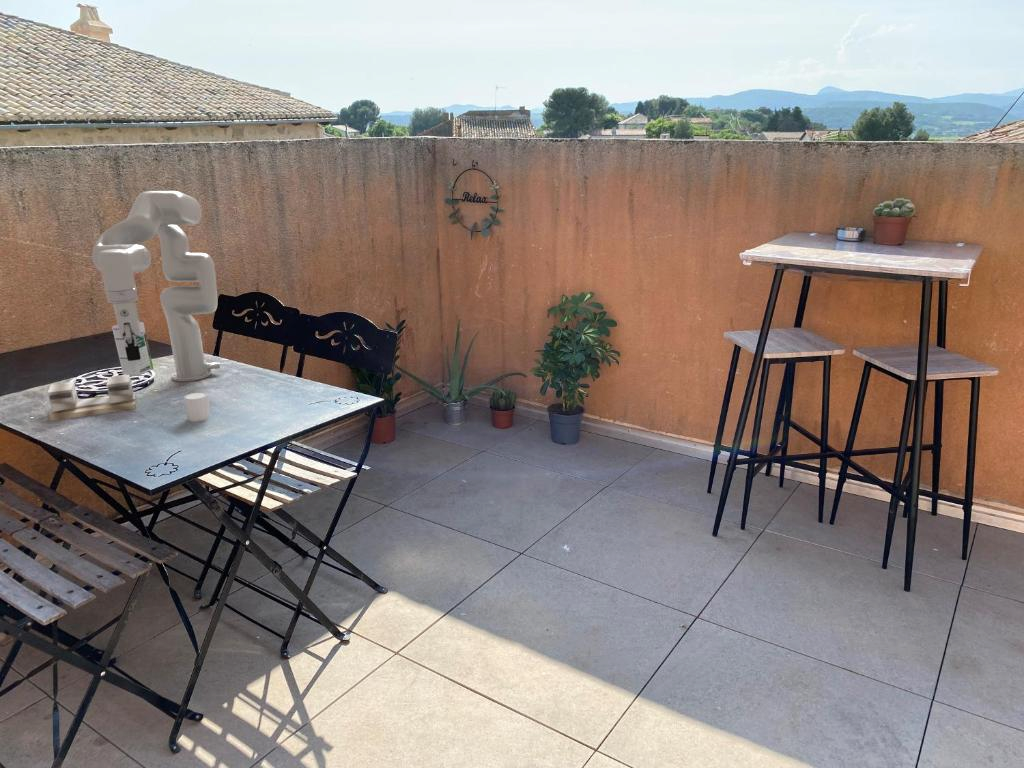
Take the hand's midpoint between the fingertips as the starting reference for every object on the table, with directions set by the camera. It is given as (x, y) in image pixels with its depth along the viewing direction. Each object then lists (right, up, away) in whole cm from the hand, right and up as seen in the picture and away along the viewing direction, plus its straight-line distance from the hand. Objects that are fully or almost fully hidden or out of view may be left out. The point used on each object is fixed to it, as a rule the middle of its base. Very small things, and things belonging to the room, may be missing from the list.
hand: (134, 355), depth 193 cm
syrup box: (0, -5, +2) cm, 5 cm away
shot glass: (+15, -18, +8) cm, 25 cm away
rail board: (-21, -16, +15) cm, 30 cm away
